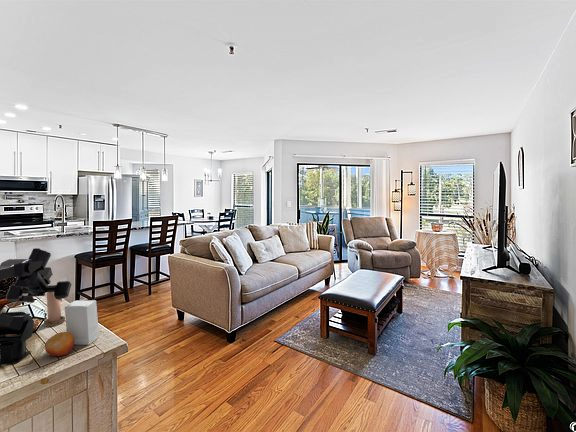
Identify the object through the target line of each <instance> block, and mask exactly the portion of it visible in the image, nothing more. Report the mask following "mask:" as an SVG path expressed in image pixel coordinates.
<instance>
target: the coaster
mask: <svg viewBox="0 0 576 432" xmlns="http://www.w3.org/2000/svg"><path fill="white" fill-rule="evenodd" d="M64 323H66V316H63V315H61V320H60V321H57V322H53V323H48V318H46V319H45V320H44V321H43V325H44V326H45V327H55V326H60V325H61V324H64Z"/></svg>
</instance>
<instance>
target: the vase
mask: <svg viewBox="0 0 576 432" xmlns="http://www.w3.org/2000/svg"><path fill="white" fill-rule="evenodd" d="M61 303H62V302H61V301H60V300H57V299H55V297H54V292H46V309H47V310H46V311H47V312H46V314H47V319H48V323H53V322H57V321H60V320H61V316H62V306H61V305H62V304H61Z"/></svg>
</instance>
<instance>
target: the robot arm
mask: <svg viewBox="0 0 576 432" xmlns="http://www.w3.org/2000/svg"><path fill="white" fill-rule="evenodd" d="M51 256H52V254H51V253H50V252H49V251H46V250H43V249H41V248H36V247H34V248H32V251H31V253H30V255H29V256H28V258H13V259H12V258H9V259H7V260H5V261H3V262H1V263H0V281H4V280H7V279H10V278H16V281H15V283H13V284H11V285H10V286H9V288H8V291H7V293H6V295H5V299H6V301H8V302H10V303H11V302H13V303H29V304H30V303H31V304H33V303H35V302H36V301H35V297H36V298H37V297H44V296H46V294H47V292H54V297H55V299H57V300H60V301H63V299H65V298H68V297H69V295H70V292H71V288H72V285H73V284H72V282H71V281H70V280H64V281H63V280H62V281H58V282H56V285H55V284H54V285H52V284H51V281H52V280H51V278H52V276H53V274H54V273H53V270H52V267H49V266H47V264H48V263H49V260H50V258H51ZM50 284H51V285H50ZM34 326H35V320H34V319H33V316H32V315H31V313H26V312H25V311H8V312H7V311H6V312H4V311H3V312H0V365H5V364H6V365H10V364H11V365H12V364H17V363H19V362H20V361H22V360H23V359H25V358H26V357H27V356H29V355H30V354H32V353H31V352H32V351H30V350H29V351H27V344H26V343H27V340H29V339H30V338H32V336H33V331H34Z"/></svg>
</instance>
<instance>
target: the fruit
mask: <svg viewBox="0 0 576 432" xmlns="http://www.w3.org/2000/svg"><path fill="white" fill-rule="evenodd" d="M73 349H74V337H73V335H72V334H71V333H70V332H67V331H62V332H61V331H60V332H57V333H55V334H53V335H51V337H50V338H48V339H47V341H46V342H45V343H44V351H45V352H46V353H47V354H48V355H49V356H50V357H64V356H66V355H69V354H70V353H71V352H72V351H73Z"/></svg>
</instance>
